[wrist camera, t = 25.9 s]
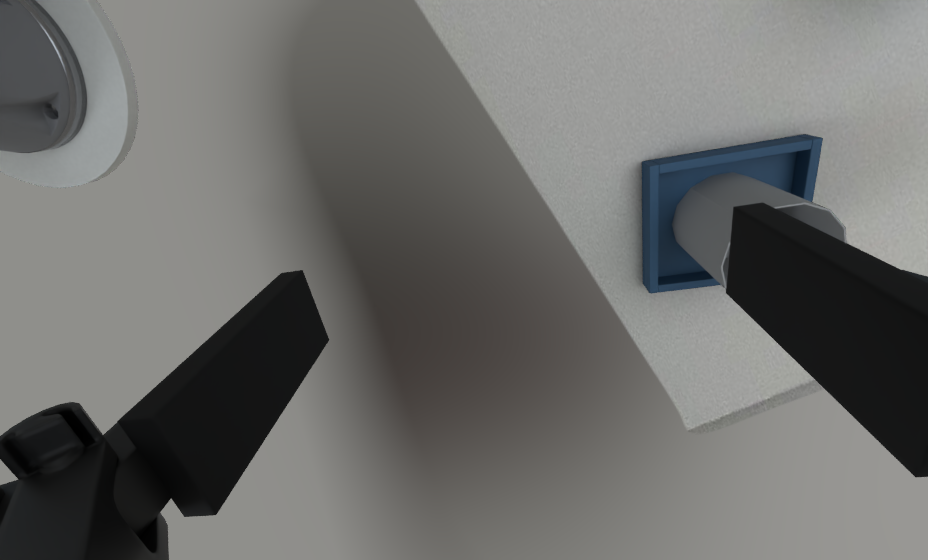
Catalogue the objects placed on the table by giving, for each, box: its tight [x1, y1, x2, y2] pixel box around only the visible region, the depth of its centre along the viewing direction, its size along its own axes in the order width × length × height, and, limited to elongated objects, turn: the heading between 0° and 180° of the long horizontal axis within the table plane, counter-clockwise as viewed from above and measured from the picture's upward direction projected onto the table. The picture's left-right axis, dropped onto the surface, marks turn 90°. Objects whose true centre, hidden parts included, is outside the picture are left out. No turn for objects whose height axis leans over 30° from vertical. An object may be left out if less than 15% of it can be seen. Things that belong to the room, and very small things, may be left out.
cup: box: [672, 172, 847, 289], centre depth 35 cm, size 8×8×10 cm
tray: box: [642, 134, 823, 293], centre depth 39 cm, size 14×13×2 cm
